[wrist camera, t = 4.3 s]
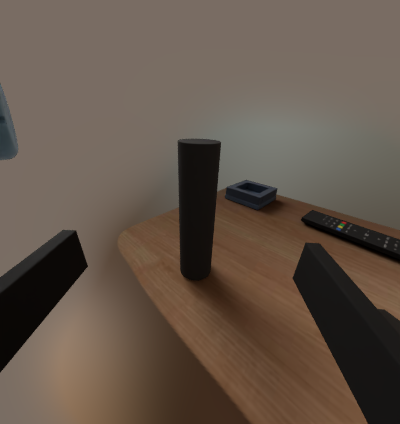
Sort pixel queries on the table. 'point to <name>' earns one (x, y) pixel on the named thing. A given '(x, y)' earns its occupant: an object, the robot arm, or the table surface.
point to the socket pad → (251, 194)
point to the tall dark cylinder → (197, 204)
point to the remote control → (355, 233)
